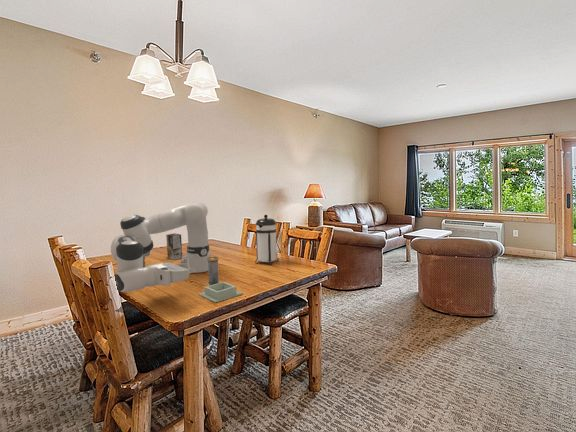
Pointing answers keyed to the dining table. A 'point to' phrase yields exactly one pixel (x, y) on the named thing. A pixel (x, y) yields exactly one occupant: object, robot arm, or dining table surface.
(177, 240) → the coffee box
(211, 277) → the pin
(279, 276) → the dining table surface
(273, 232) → the coffee press
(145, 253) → the mechanical component
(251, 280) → the dining table surface
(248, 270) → the dining table surface
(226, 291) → the green square tray
